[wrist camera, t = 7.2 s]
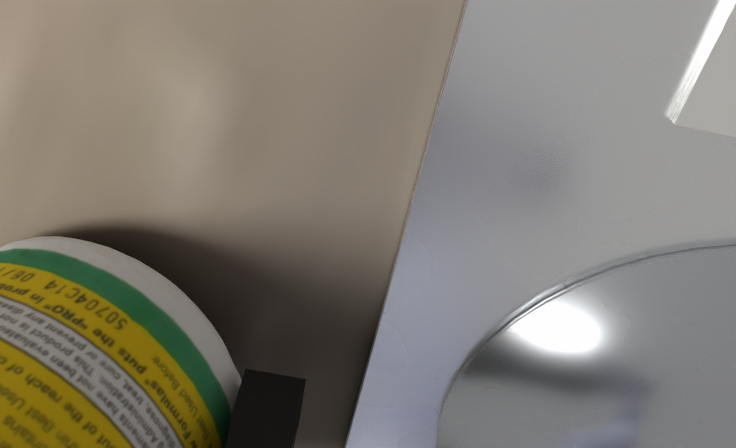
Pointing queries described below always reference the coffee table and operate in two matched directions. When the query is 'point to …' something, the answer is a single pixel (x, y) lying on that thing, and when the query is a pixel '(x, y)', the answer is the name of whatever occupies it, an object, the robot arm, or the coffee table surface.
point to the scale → (568, 237)
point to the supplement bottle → (105, 353)
